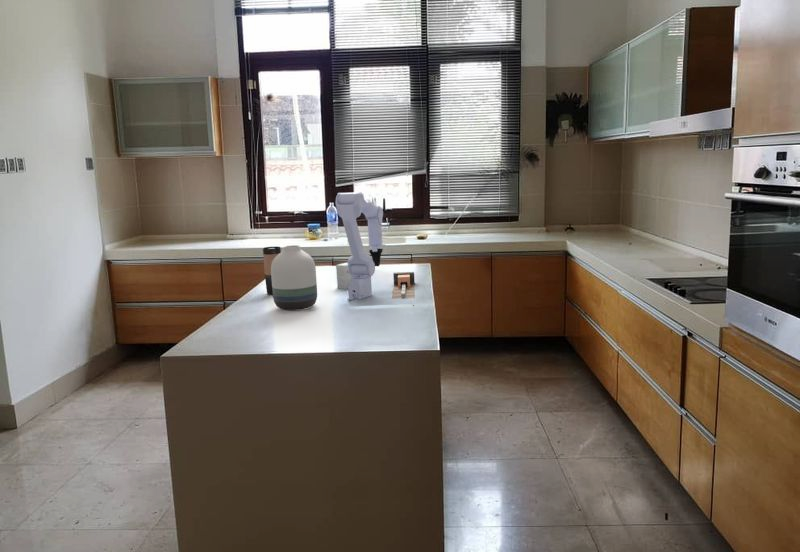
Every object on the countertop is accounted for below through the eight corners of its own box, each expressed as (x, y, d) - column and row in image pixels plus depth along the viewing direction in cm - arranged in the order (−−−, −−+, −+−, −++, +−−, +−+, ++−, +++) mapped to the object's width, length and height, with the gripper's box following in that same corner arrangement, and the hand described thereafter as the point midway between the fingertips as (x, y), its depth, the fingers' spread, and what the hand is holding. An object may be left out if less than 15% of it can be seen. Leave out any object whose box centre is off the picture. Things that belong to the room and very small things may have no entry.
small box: (349, 284, 291) (348, 262, 289) (358, 286, 287) (357, 262, 285) (337, 288, 285) (335, 264, 283) (346, 289, 281) (344, 265, 279)
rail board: (414, 300, 252) (414, 285, 251) (391, 301, 252) (391, 286, 251) (414, 285, 283) (414, 271, 282) (394, 285, 283) (393, 272, 282)
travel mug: (287, 292, 280) (284, 247, 276) (273, 295, 274) (269, 249, 271) (277, 290, 285) (273, 246, 281) (262, 293, 279) (259, 248, 276)
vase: (269, 306, 253) (264, 246, 249) (311, 301, 259) (307, 242, 255) (279, 315, 237) (274, 250, 233) (323, 309, 244) (319, 246, 240)
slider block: (410, 287, 272) (409, 276, 272) (398, 287, 273) (397, 277, 272) (410, 284, 278) (409, 274, 277) (398, 285, 278) (398, 275, 277)
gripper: (383, 236, 264) (385, 268, 267) (385, 232, 279) (386, 263, 281) (366, 236, 265) (368, 269, 267) (369, 232, 279) (370, 263, 281)
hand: (376, 266), depth 274 cm, fingers closed
